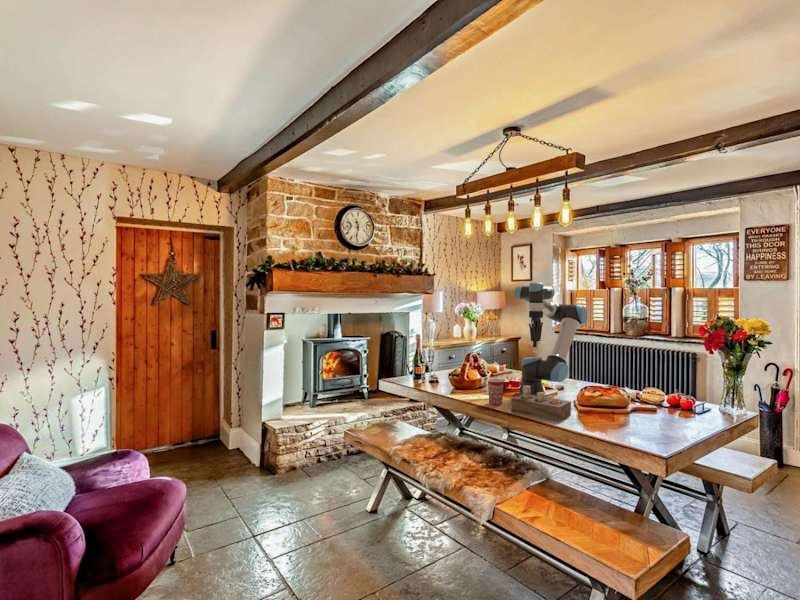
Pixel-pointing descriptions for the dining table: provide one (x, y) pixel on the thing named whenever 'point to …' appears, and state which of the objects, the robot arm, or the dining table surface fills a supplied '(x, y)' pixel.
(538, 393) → the plug mid
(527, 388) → the plug
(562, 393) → the dining table surface
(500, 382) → the mug
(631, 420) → the dining table surface
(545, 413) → the socket board
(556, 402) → the plug
